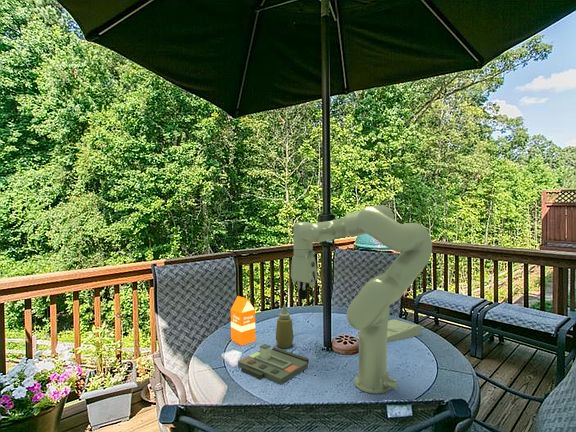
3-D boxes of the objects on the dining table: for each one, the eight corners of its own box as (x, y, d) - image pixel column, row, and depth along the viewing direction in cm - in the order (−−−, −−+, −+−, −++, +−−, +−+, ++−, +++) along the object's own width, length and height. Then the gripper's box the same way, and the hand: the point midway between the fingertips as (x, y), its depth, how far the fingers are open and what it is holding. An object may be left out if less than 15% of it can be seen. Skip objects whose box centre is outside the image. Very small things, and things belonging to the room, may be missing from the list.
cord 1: (263, 377, 130) (263, 373, 130) (260, 379, 129) (260, 375, 129) (244, 369, 137) (244, 365, 137) (241, 371, 135) (241, 367, 135)
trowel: (367, 344, 160) (367, 332, 160) (358, 331, 176) (358, 320, 176) (428, 341, 162) (428, 330, 162) (413, 329, 178) (413, 318, 178)
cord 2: (308, 362, 142) (308, 358, 142) (306, 364, 141) (306, 360, 140) (274, 350, 153) (274, 347, 153) (272, 352, 152) (272, 348, 152)
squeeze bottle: (291, 350, 154) (291, 309, 153) (273, 348, 155) (273, 307, 154) (295, 342, 161) (295, 303, 160) (277, 341, 163) (277, 302, 162)
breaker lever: (270, 358, 141) (270, 345, 141) (265, 360, 139) (265, 348, 139) (265, 356, 143) (264, 343, 143) (259, 358, 141) (259, 346, 141)
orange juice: (241, 345, 159) (240, 301, 158) (230, 339, 166) (230, 297, 165) (255, 340, 164) (255, 297, 163) (244, 335, 171) (244, 293, 170)
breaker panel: (307, 367, 138) (307, 360, 138) (281, 384, 126) (281, 376, 125) (265, 352, 152) (265, 345, 152) (238, 366, 139) (237, 359, 139)
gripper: (324, 253, 140) (324, 300, 141) (294, 250, 149) (294, 293, 150) (313, 256, 134) (313, 304, 135) (282, 252, 144) (283, 297, 145)
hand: (303, 298), depth 143 cm, fingers closed
